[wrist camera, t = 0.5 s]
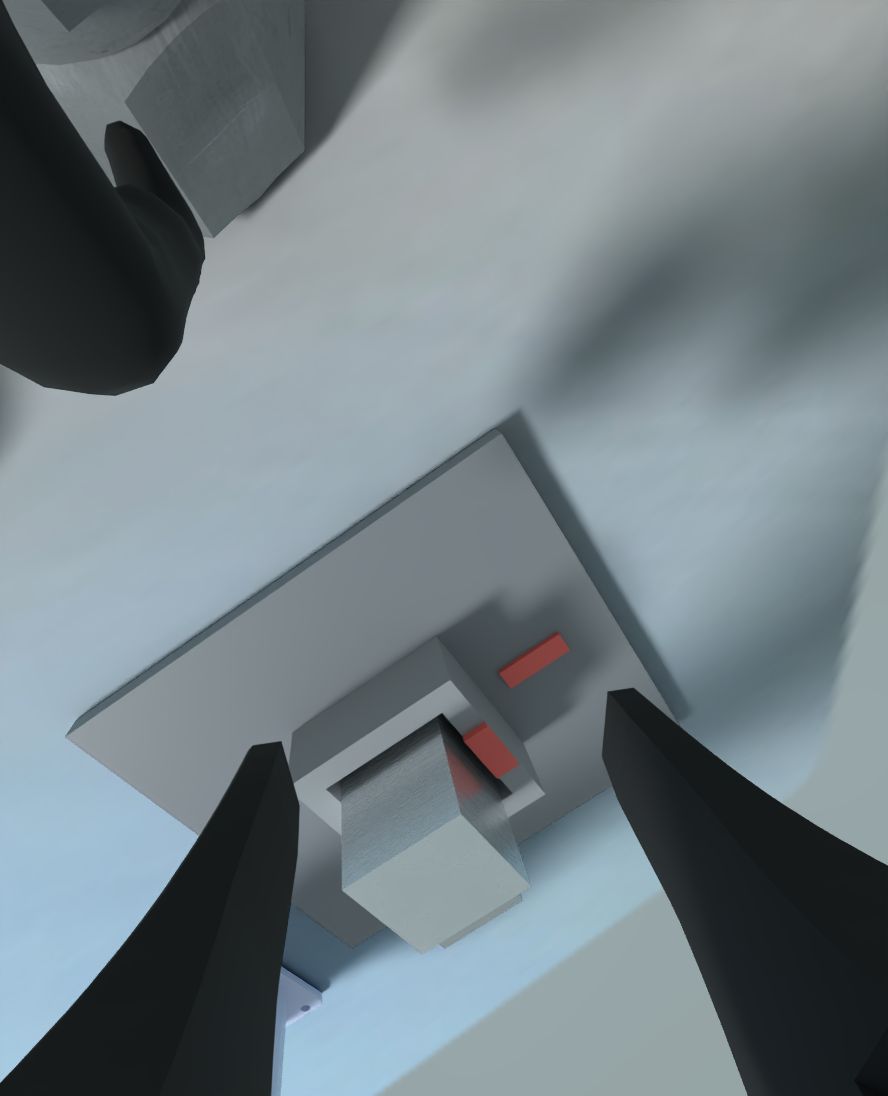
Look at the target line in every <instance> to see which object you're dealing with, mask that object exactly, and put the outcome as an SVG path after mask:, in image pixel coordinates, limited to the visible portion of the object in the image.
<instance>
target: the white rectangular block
mask: <svg viewBox="0 0 888 1096" xmlns="http://www.w3.org/2000/svg"><path fill="white" fill-rule="evenodd" d="M341 825H342V891H343V892H345V893H346V894H347V895H348V896H350V897H351V898H352V899H353V900H355V901H356V902H357V903H359V904H360V905H361V906H362V907H364V908H365V909H366V910H367V911H369V912H370V913H371V914H372V915H374V916H375V917H376V918H377V919H379V920H380V921H381V922H382V923H384V924H385V925H386V926H387V927H389V928H390V929H391V930H392V931H394V932H395V933H396V934H397V935H399V936H400V937H401V938H402V939H404V940H405V941H406V942H408V943H409V944H410V945H411V946H413V947H414V948H415V949H416V950H418V951H419V952H420V953H421V954H423V953H425V952H427V951H428V950H430V949H431V948H433V947H435V946H436V945H438V944H439V945H440V946H442V947H443V948H444V949H445V948H446V947H448V946H450V945H451V944H453V943H454V942H456V941H458V940H459V939H461V938H463V937H464V936H466V935H467V934H469V933H471V932H472V931H474V930H475V929H477V928H479V927H480V926H482V925H484V924H485V923H487V922H488V921H490V920H492V919H493V918H495V917H496V916H498V915H500V914H501V913H503V912H505V911H506V910H508V909H509V908H511V907H513V906H514V905H516V904H518V903H519V902H521V901H522V897H521V894H520V893H522V892H523V891H525V890H527V889H528V888H530V887H531V884H530V881H529V878H528V876H527V873H526V870H525V867H524V864H523V861H522V858H521V855H520V852H519V849H518V846H517V843H516V840H515V837H514V834H513V831H512V828H511V826H510V823H509V820H508V817H507V814H506V811H505V808H504V805H503V802H502V799H501V796H500V793H499V790H498V787H497V784H496V781H495V778H494V776H493V774H492V773H491V771H490V770H489V769H488V768H487V767H486V766H485V765H484V764H483V762H482V761H481V760H480V759H479V758H478V757H477V756H476V754H475V753H474V752H473V751H472V750H471V749H470V748H469V746H468V745H467V744H466V743H465V742H464V739H463V736H462V735H461V734H460V733H459V731H458V730H457V729H456V728H455V727H454V726H453V725H452V723H451V722H450V721H449V720H448V719H447V718H446V717H445V715H444V714H443V713H441V714H439V715H438V716H436V717H435V718H433V719H432V720H430V721H429V722H427V723H426V724H424V725H423V726H421V727H420V728H418V729H417V730H415V731H414V732H412V733H411V734H409V735H408V736H406V737H404V738H403V739H401V740H400V741H398V742H397V743H395V744H394V745H392V746H391V747H389V748H388V749H386V750H385V751H383V752H382V753H380V754H379V755H377V756H376V757H374V758H372V759H371V760H369V761H368V762H366V763H365V764H363V765H362V766H360V767H359V768H357V769H356V770H354V771H353V772H351V773H350V774H348V775H347V776H345V777H344V778H342V779H341Z"/></svg>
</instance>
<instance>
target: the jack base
mask: <svg viewBox="0 0 888 1096" xmlns="http://www.w3.org/2000/svg"><path fill="white" fill-rule="evenodd" d="M633 687H634V688H635V689H636V690H637V691H638V692H640V693H641V694H642V695H643V696H644V697H646V698H647V699H648V700H649V701H650V702H652V703H653V704H654V705H655V706H656V707H657V708H659V709H660V710H661V711H662V712H663V713H664V714H666V715H667V716H668V717H669V718H670V719H671V720H673V721H674V722H675V723H676V724H677V725H679V724H678V722H677V721H676V719H675V717H674V716H673V714H672V712H671V711H670V709H669V708H668V706H667V704H666V703H665V701H664V699H663V698H662V696H661V694H660V693H659V691H658V689H657V688H656V686H655V684H654V683H653V681H652V680H651V678H650V676H649V675H648V673H647V671H646V670H645V668H644V666H643V665H642V663H641V661H640V660H639V658H638V656H637V655H636V653H635V652H634V650H633V648H632V647H631V645H630V643H629V642H628V640H627V638H626V637H625V635H624V633H623V632H622V630H621V629H620V627H619V625H618V624H617V622H616V620H615V619H614V617H613V615H612V614H611V612H610V610H609V609H608V607H607V605H606V604H605V602H604V601H603V599H602V597H601V596H600V594H599V592H598V591H597V589H596V587H595V586H594V584H593V582H592V581H591V579H590V577H589V576H588V574H587V573H586V571H585V569H584V568H583V566H582V564H581V563H580V561H579V559H578V558H577V556H576V554H575V553H574V551H573V549H572V548H571V546H570V545H569V543H568V541H567V540H566V538H565V536H564V535H563V533H562V531H561V530H560V528H559V526H558V525H557V523H556V522H555V520H554V518H553V517H552V515H551V513H550V512H549V510H548V508H547V507H546V505H545V503H544V502H543V500H542V498H541V497H540V495H539V494H538V492H537V490H536V489H535V487H534V485H533V484H532V482H531V480H530V479H529V477H528V475H527V474H526V472H525V470H524V469H523V467H522V466H521V464H520V462H519V461H518V459H517V457H516V456H515V454H514V452H513V451H512V449H511V447H510V446H509V444H508V443H507V441H506V439H505V438H504V436H503V434H502V433H501V432H499V431H498V430H496V429H495V428H494V429H493V430H491V431H490V432H489V433H487V434H486V435H484V436H483V437H481V438H480V439H479V440H477V441H476V442H474V443H473V444H471V445H470V446H469V447H467V448H466V449H464V450H463V451H461V452H460V453H458V454H457V455H456V456H454V457H453V458H451V459H450V460H448V461H447V462H446V463H444V464H443V465H441V466H440V467H438V468H437V469H436V470H434V471H433V472H431V473H430V474H428V475H427V476H425V477H424V478H423V479H421V480H420V481H418V482H417V483H415V484H414V485H413V486H411V487H410V488H408V489H407V490H405V491H404V492H403V493H401V494H400V495H398V496H397V497H395V498H394V499H392V500H391V501H390V502H388V503H387V504H385V505H384V506H382V507H381V508H380V509H378V510H377V511H375V512H374V513H372V514H371V515H370V516H368V517H367V518H365V519H364V520H362V521H361V522H359V523H358V524H357V525H355V526H354V527H352V528H351V529H349V530H348V531H347V532H345V533H344V534H342V535H341V536H339V537H338V538H337V539H335V540H334V541H332V542H331V543H329V544H328V545H326V546H325V547H324V548H322V549H321V550H319V551H318V552H316V553H315V554H314V555H312V556H311V557H309V558H308V559H306V560H305V561H304V562H302V563H301V564H299V565H298V566H296V567H295V568H293V569H292V570H291V571H289V572H288V573H286V574H285V575H283V576H282V577H281V578H279V579H278V580H276V581H275V582H273V583H272V584H271V585H269V586H268V587H266V588H265V589H263V590H262V591H260V592H259V593H258V594H256V595H255V596H253V597H252V598H250V599H249V600H248V601H246V602H245V603H243V604H242V605H240V606H239V607H238V608H236V609H235V610H233V611H232V612H230V613H229V614H227V615H226V616H225V617H223V618H222V619H220V620H219V621H217V622H216V623H215V624H213V625H212V626H210V627H209V628H207V629H206V630H205V631H203V632H202V633H200V634H199V635H197V636H196V637H194V638H193V639H192V640H190V641H189V642H187V643H186V644H184V645H183V646H182V647H180V648H179V649H177V650H176V651H174V652H173V653H172V654H170V655H169V656H167V657H166V658H164V659H163V660H161V661H160V662H159V663H157V664H156V665H154V666H153V667H151V668H150V669H149V670H147V671H146V672H144V673H143V674H141V675H140V676H139V677H137V678H136V679H134V680H133V681H131V682H130V683H128V684H127V685H126V686H124V687H123V688H121V689H120V690H118V691H117V692H116V693H114V694H113V695H111V696H110V697H108V698H107V699H106V700H104V701H103V702H101V703H100V704H98V705H97V706H95V707H94V708H93V709H91V710H90V711H88V712H87V713H85V714H84V715H83V716H81V717H80V718H78V719H77V720H76V721H75V723H74V724H73V726H72V727H71V729H70V730H69V732H68V733H67V735H66V736H65V738H67V739H68V740H70V741H71V742H72V743H74V744H75V745H76V746H78V747H79V748H80V749H82V750H83V751H85V752H86V753H87V754H89V755H90V756H91V757H93V758H94V759H95V760H97V761H98V762H99V763H101V764H102V765H104V766H105V767H106V768H108V769H109V770H110V771H112V772H113V773H114V774H116V775H117V776H118V777H120V778H121V779H123V780H124V781H125V782H127V783H128V784H129V785H131V786H132V787H133V788H135V789H136V790H137V791H139V792H140V793H142V794H143V795H144V796H146V797H147V798H148V799H150V800H151V801H152V802H154V803H155V804H156V805H158V806H159V807H161V808H162V809H163V810H165V811H166V812H167V813H169V814H170V815H171V816H173V817H174V818H176V819H177V820H178V821H180V822H181V823H182V824H184V825H185V826H186V827H188V828H189V829H190V830H192V831H193V832H195V833H196V834H197V835H199V836H200V834H201V832H202V831H203V829H204V827H205V826H206V824H207V823H208V821H209V819H210V818H211V816H212V814H213V813H214V811H215V809H216V808H217V806H218V804H219V803H220V801H221V799H222V797H223V796H224V794H225V792H226V790H227V789H228V787H229V785H230V783H231V781H232V780H233V778H234V776H235V774H236V772H237V770H238V769H239V767H240V765H241V763H242V761H243V759H244V757H245V755H246V753H247V752H248V750H249V749H250V748H251V746H252V745H258V744H265V743H271V742H278V741H282V745H283V748H284V752H285V755H286V759H287V762H288V766H289V769H290V773H291V776H292V780H293V783H294V787H295V791H296V794H297V798H298V801H299V805H300V814H299V841H298V858H297V865H296V872H295V879H294V885H293V892H292V899H291V904H292V905H294V906H295V907H296V908H298V909H299V910H300V911H302V912H303V913H305V914H306V915H307V916H309V917H310V918H311V919H313V920H314V921H315V922H317V923H318V924H320V925H321V926H322V927H324V928H325V929H326V930H328V931H329V932H330V933H332V934H333V935H334V936H336V937H337V938H339V939H340V940H341V941H343V942H344V943H345V944H347V945H348V946H349V947H351V948H354V947H356V946H357V945H359V944H360V943H362V942H364V941H365V940H367V939H368V938H370V937H372V936H373V935H375V934H376V933H378V932H380V931H381V930H383V929H384V928H386V927H387V926H386V925H385V924H384V923H382V922H381V921H380V920H379V919H377V918H376V917H375V916H374V915H372V914H371V913H370V912H369V911H367V910H366V909H365V908H364V907H362V906H361V905H360V904H359V903H357V902H356V901H355V900H353V899H352V898H351V897H350V896H348V895H347V894H346V893H345V892H343V891H342V825H341V779H342V778H344V777H345V776H347V775H348V774H350V773H351V772H353V771H354V770H356V769H357V768H359V767H360V766H362V765H363V764H365V763H366V762H368V761H369V760H371V759H372V758H374V757H376V756H377V755H379V754H380V753H382V752H383V751H385V750H386V749H388V748H389V747H391V746H392V745H394V744H395V743H397V742H398V741H400V740H401V739H403V738H404V737H406V736H408V735H409V734H411V733H412V732H414V731H415V730H417V729H418V728H420V727H421V726H423V725H424V724H426V723H427V722H429V721H430V720H432V719H433V718H435V717H436V716H438V715H439V714H441V713H443V714H444V715H445V717H446V718H447V719H448V720H449V721H450V722H451V723H452V725H453V726H454V727H455V728H456V729H457V730H458V731H459V733H460V734H461V735H462V736H463V739H464V742H465V743H466V744H467V745H468V746H469V748H470V749H471V750H472V751H473V752H474V753H475V754H476V756H477V757H478V758H479V759H480V760H481V761H482V762H483V764H484V765H485V766H486V767H487V768H488V769H489V770H490V771H491V773H492V774H493V776H494V778H495V781H496V784H497V787H498V790H499V793H500V796H501V799H502V802H503V805H504V808H505V811H506V814H507V817H508V820H509V823H510V826H511V828H512V831H513V834H514V837H515V840H516V843H517V845H518V844H520V843H521V842H523V841H525V840H526V839H528V838H529V837H531V836H533V835H534V834H536V833H537V832H539V831H540V830H542V829H544V828H545V827H547V826H548V825H550V824H552V823H553V822H555V821H556V820H558V819H560V818H561V817H563V816H564V815H566V814H568V813H569V812H571V811H572V810H574V809H576V808H577V807H579V806H580V805H582V804H584V803H585V802H587V801H588V800H590V799H591V798H593V797H595V796H596V795H598V794H599V793H601V792H603V791H604V790H606V789H607V788H609V787H611V786H612V783H611V781H610V778H609V775H608V772H607V770H606V767H605V764H604V762H603V759H602V747H603V736H604V725H605V713H606V702H607V691H614V690H620V689H627V688H633Z"/></svg>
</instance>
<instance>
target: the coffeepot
mask: <svg viewBox="0 0 888 1096" xmlns="http://www.w3.org/2000/svg"><path fill="white" fill-rule="evenodd" d="M304 151H305V0H0V364H2V365H4V366H6V367H8V368H10V369H11V370H13V371H15V372H17V373H19V374H21V375H22V376H24V377H26V378H28V379H30V380H32V381H34V382H35V383H37V384H39V385H41V386H43V387H47V388H54V389H60V390H67V391H74V392H80V393H87V394H96V395H111V396H116V395H119V394H122V393H125V392H128V391H131V390H134V389H137V388H140V387H143V386H146V385H149V384H152V383H154V382H155V380H156V379H157V378H158V376H159V375H160V374H161V372H162V371H163V370H164V369H165V367H166V366H167V365H168V363H169V362H170V361H171V359H172V358H173V357H174V355H175V354H176V353H177V351H178V349H179V347H180V345H181V343H182V340H183V334H184V328H185V323H186V317H187V314H188V310H189V307H190V304H191V301H192V298H193V295H194V294H195V292H196V288H197V286H198V284H199V279H200V275H201V268H202V264H203V262H204V260H205V249H204V239H203V237H210V238H214V237H215V236H217V235H218V234H219V233H220V232H221V231H222V230H223V229H224V228H225V227H226V226H227V225H228V224H229V223H230V222H231V221H232V220H233V219H234V218H235V217H236V216H237V215H239V214H240V213H241V212H242V211H244V210H245V209H246V208H248V207H249V206H250V205H251V204H253V203H254V202H255V201H256V200H258V199H259V198H260V197H261V196H262V195H263V193H264V192H265V191H266V190H267V189H268V187H269V186H270V185H271V184H272V183H273V181H274V180H275V179H276V178H277V177H278V176H279V175H280V174H281V173H282V172H283V171H284V170H285V169H286V168H287V167H288V166H289V165H290V164H291V163H292V162H293V161H294V160H295V159H296V158H297V157H298V156H299V155H300V154H301V153H303V152H304Z"/></svg>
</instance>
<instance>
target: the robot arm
mask: <svg viewBox="0 0 888 1096" xmlns="http://www.w3.org/2000/svg"><path fill="white" fill-rule="evenodd" d="M602 759H603V762H604V764H605V767H606V770H607V772H608V775H609V778H610V781H611V783H612V786H613V788H614V791H615V793H616V796H617V799H618V801H619V803H620V805H621V807H622V809H623V811H624V813H625V815H626V817H627V819H628V821H629V823H630V825H631V827H632V829H633V831H634V833H635V835H636V837H637V838H638V840H639V842H640V844H641V846H642V848H643V850H644V852H645V854H646V856H647V858H648V860H649V862H650V863H651V865H652V867H653V869H654V871H655V873H656V875H657V877H658V879H659V881H660V883H661V885H662V887H663V889H664V890H665V892H666V894H667V896H668V898H669V900H670V902H671V904H672V906H673V908H674V910H675V913H676V915H677V917H678V919H679V921H680V923H681V926H682V928H683V930H684V933H685V935H686V938H687V940H688V942H689V945H690V947H691V950H692V952H693V954H694V957H695V959H696V962H697V964H698V967H699V969H700V972H701V974H702V977H703V979H704V981H705V984H706V987H707V989H708V992H709V994H710V997H711V999H712V1002H713V1004H714V1007H715V1010H716V1012H717V1015H718V1017H719V1020H720V1022H721V1025H722V1027H723V1030H724V1033H725V1035H726V1038H727V1041H728V1043H729V1046H730V1048H731V1051H732V1054H733V1057H734V1059H735V1062H736V1065H737V1067H738V1070H739V1073H740V1075H741V1078H742V1081H743V1084H744V1086H745V1089H746V1092H747V1095H748V1096H888V865H886V864H884V863H882V862H880V861H878V860H876V859H874V858H873V857H871V856H869V855H867V854H865V853H864V852H862V851H860V850H858V849H856V848H855V847H853V846H851V845H849V844H848V843H846V842H844V841H842V840H840V839H838V838H837V837H835V836H833V835H832V834H830V833H828V832H827V831H825V830H823V829H822V828H820V827H818V826H816V825H815V824H813V823H812V822H810V821H809V820H807V819H805V818H804V817H802V816H801V815H799V814H798V813H796V812H795V811H793V810H791V809H790V808H788V807H787V806H785V805H784V804H782V803H780V802H779V801H778V800H776V799H775V798H773V797H772V796H770V795H769V794H767V793H766V792H764V791H763V790H761V789H760V788H759V787H757V786H756V785H754V784H753V783H752V782H750V781H749V780H747V779H746V778H745V777H743V776H742V775H741V774H739V773H738V772H736V771H735V770H734V769H732V768H731V767H730V766H729V765H727V764H726V763H725V762H723V761H722V760H721V759H719V758H718V757H717V756H716V755H714V754H713V753H712V752H711V751H709V750H708V749H707V748H706V747H704V746H703V745H702V744H701V743H699V742H698V741H697V740H696V739H694V738H693V737H692V736H691V735H689V734H688V733H687V732H686V731H685V730H683V729H682V728H681V727H680V726H679V725H677V724H676V723H675V722H674V721H673V720H671V719H670V718H669V717H668V716H667V715H666V714H664V713H663V712H662V711H661V710H660V709H659V708H657V707H656V706H655V705H654V704H653V703H652V702H650V701H649V700H648V699H647V698H646V697H644V696H643V695H642V694H641V693H640V692H638V691H637V690H636V689H635V688H634V687H633V688H627V689H620V690H614V691H607V702H606V713H605V725H604V736H603V747H602ZM299 814H300V805H299V801H298V798H297V794H296V791H295V787H294V783H293V780H292V776H291V773H290V769H289V766H288V762H287V759H286V755H285V752H284V748H283V745H282V741H278V742H271V743H265V744H258V745H252V746H251V748H250V749H249V750H248V752H247V753H246V755H245V757H244V759H243V761H242V763H241V765H240V767H239V769H238V770H237V772H236V774H235V776H234V778H233V780H232V781H231V783H230V785H229V787H228V789H227V790H226V792H225V794H224V796H223V797H222V799H221V801H220V803H219V804H218V806H217V808H216V809H215V811H214V813H213V814H212V816H211V818H210V819H209V821H208V823H207V824H206V826H205V827H204V829H203V831H202V832H201V834H200V836H199V837H198V839H197V841H196V842H195V844H194V845H193V847H192V848H191V850H190V851H189V853H188V854H187V856H186V857H185V859H184V860H183V862H182V863H181V865H180V866H179V868H178V869H177V871H176V872H175V874H174V875H173V877H172V878H171V880H170V881H169V883H168V884H167V886H166V887H165V889H164V890H163V892H162V893H161V894H160V896H159V897H158V899H157V900H156V901H155V903H154V904H153V905H152V907H151V908H150V910H149V911H148V912H147V914H146V915H145V916H144V918H143V919H142V920H141V922H140V923H139V924H138V926H137V927H136V928H135V929H134V931H133V932H132V933H131V935H130V936H129V937H128V939H127V940H126V941H125V942H124V944H123V945H122V946H121V948H120V949H119V950H118V951H117V952H116V954H115V955H114V956H113V957H112V958H111V960H110V961H109V962H108V963H107V965H106V966H105V967H104V968H103V969H102V971H101V972H100V973H99V974H98V976H97V977H96V978H95V979H94V980H93V982H92V983H91V984H90V985H89V986H88V988H87V989H86V990H85V991H84V992H83V993H82V995H81V996H80V997H79V998H78V999H77V1000H76V1001H75V1003H74V1004H73V1005H72V1006H71V1007H70V1008H69V1009H68V1011H67V1012H66V1013H65V1014H64V1015H63V1016H62V1017H61V1018H60V1019H59V1020H58V1021H57V1023H56V1024H55V1025H54V1026H53V1027H52V1028H51V1029H50V1030H49V1031H48V1032H47V1033H46V1034H45V1036H44V1037H43V1038H42V1039H41V1040H40V1041H39V1042H38V1043H37V1044H36V1045H35V1046H34V1047H33V1049H32V1050H31V1051H30V1052H29V1053H28V1054H27V1055H26V1056H25V1057H24V1058H23V1059H22V1060H21V1062H20V1063H19V1064H18V1065H17V1066H16V1067H15V1068H14V1069H13V1070H12V1071H11V1072H10V1073H9V1074H8V1075H7V1076H6V1077H5V1078H4V1079H3V1081H2V1082H1V1083H0V1096H280V1094H281V1081H282V1067H283V1054H284V1041H285V1027H287V1026H289V1025H290V1024H292V1023H294V1022H295V1021H297V1020H298V1019H300V1018H302V1017H303V1016H305V1015H306V1014H308V1013H310V1012H311V1011H313V1010H314V1009H316V1008H318V1007H319V1006H320V1005H321V1004H322V993H321V992H319V991H318V990H316V989H315V988H313V987H312V986H310V985H309V984H307V983H306V982H304V981H303V980H301V979H300V978H298V977H297V976H295V975H294V974H292V973H291V972H289V971H288V970H286V969H285V968H283V967H282V966H281V965H282V959H283V952H284V945H285V939H286V932H287V925H288V919H289V912H290V906H291V899H292V892H293V885H294V879H295V872H296V865H297V858H298V841H299Z"/></svg>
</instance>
